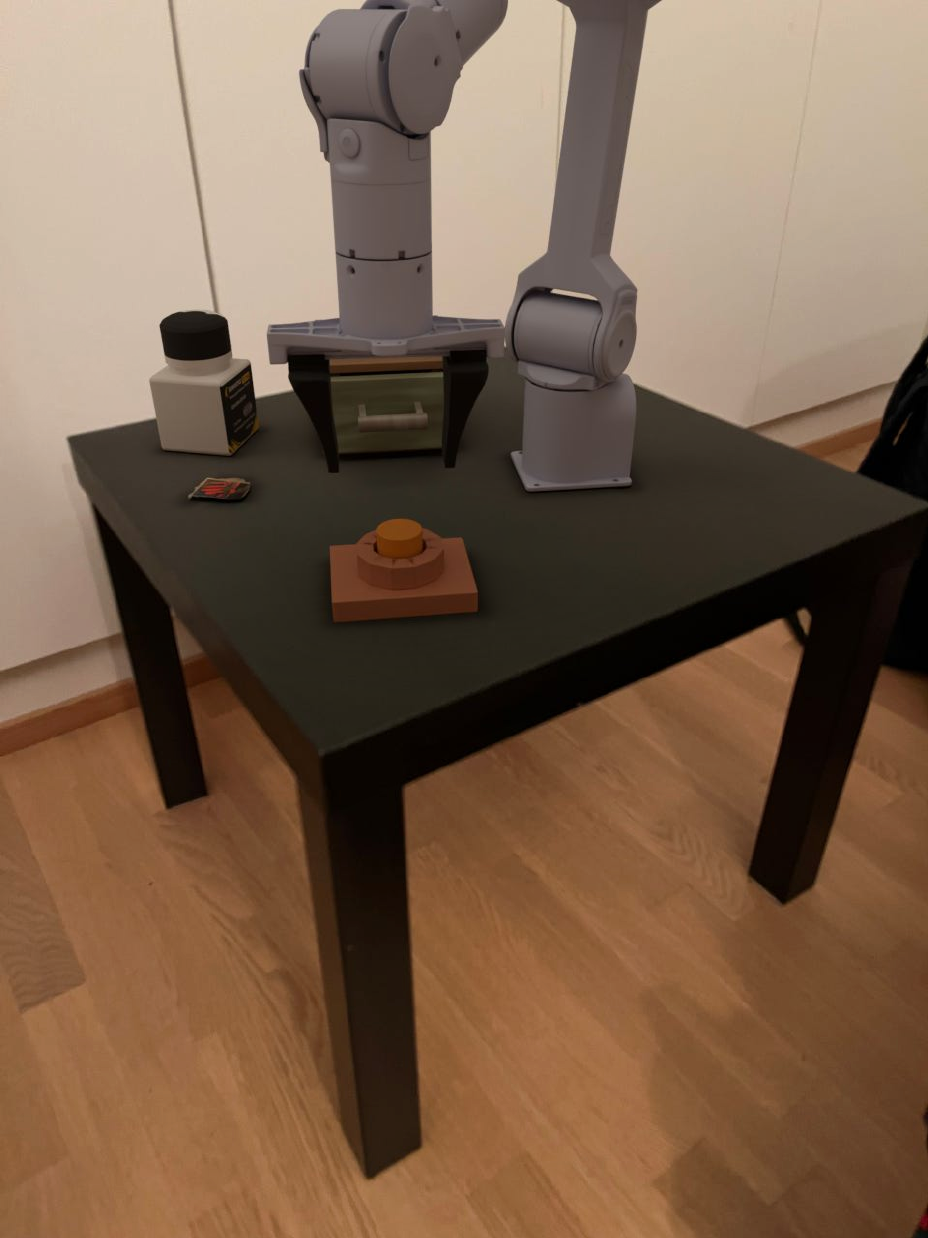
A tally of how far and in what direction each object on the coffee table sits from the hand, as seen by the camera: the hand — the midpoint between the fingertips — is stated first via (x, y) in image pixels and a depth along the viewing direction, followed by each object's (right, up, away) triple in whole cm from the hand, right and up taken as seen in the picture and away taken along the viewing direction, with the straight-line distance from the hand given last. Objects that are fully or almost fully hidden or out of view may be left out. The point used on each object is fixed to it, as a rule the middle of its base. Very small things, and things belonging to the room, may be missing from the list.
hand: (391, 464), depth 62 cm
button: (0, -6, +4) cm, 7 cm away
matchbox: (-16, +1, +19) cm, 25 cm away
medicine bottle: (-20, +7, +28) cm, 35 cm away
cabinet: (-3, +9, +32) cm, 33 cm away
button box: (0, -8, +5) cm, 10 cm away
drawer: (-3, +8, +28) cm, 29 cm away
